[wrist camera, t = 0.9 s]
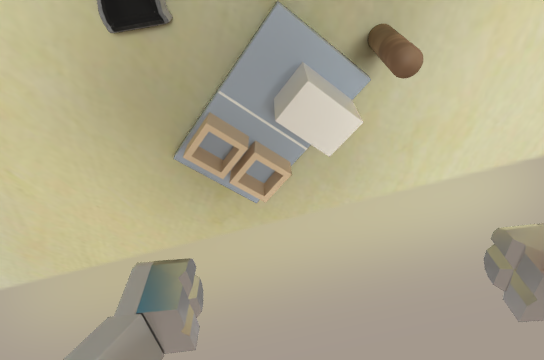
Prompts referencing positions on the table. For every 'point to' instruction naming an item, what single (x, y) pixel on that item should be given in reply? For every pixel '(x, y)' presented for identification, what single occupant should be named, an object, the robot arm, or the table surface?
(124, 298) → the robot arm
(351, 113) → the cover
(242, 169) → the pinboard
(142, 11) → the handgun
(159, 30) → the table surface
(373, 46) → the pin
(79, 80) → the table surface
